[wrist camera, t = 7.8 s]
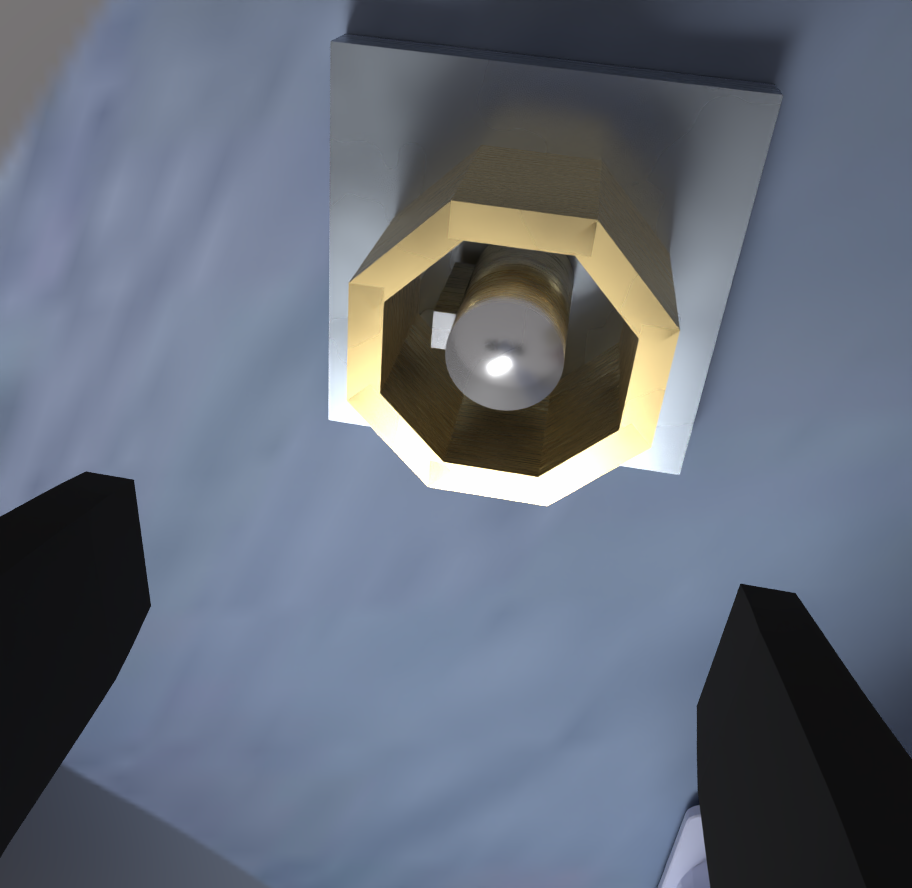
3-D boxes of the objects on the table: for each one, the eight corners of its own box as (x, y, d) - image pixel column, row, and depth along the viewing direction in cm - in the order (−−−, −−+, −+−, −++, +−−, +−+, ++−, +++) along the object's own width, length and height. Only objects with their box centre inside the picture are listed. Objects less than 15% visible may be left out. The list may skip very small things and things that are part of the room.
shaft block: (774, 84, 16) (822, 144, 12) (677, 450, 20) (689, 578, 16) (345, 33, 17) (264, 75, 13) (340, 398, 21) (278, 509, 17)
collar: (688, 170, 16) (704, 234, 13) (631, 422, 19) (633, 520, 16) (398, 134, 16) (350, 187, 13) (386, 385, 19) (345, 473, 16)
